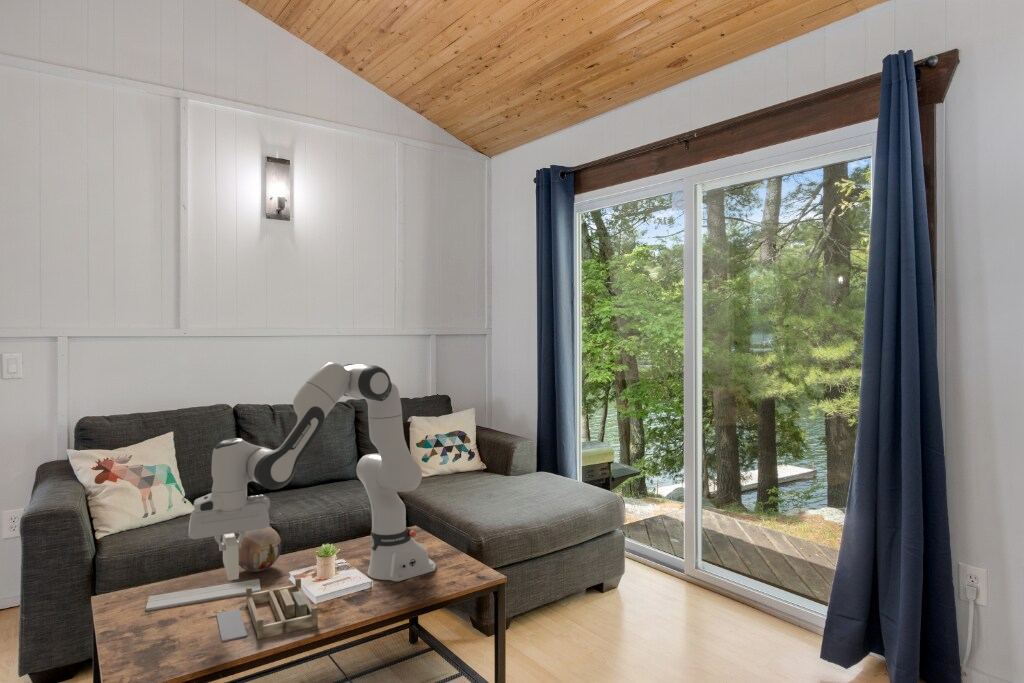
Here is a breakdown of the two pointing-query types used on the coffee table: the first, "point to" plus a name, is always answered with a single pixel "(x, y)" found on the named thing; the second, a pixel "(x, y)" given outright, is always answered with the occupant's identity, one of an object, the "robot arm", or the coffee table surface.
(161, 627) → the coffee table surface
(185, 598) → the baseboard molding
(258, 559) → the ornament
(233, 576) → the cream rectangular board
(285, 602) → the offcuts
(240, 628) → the mat
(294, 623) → the rack
